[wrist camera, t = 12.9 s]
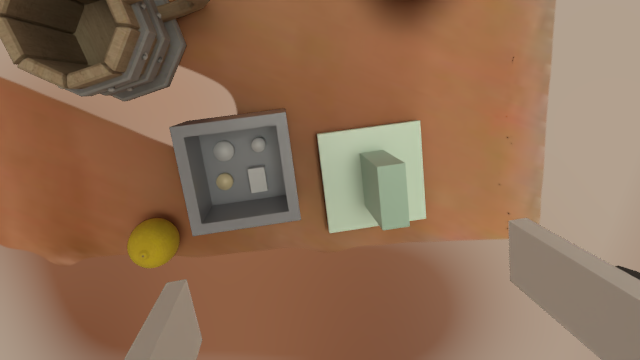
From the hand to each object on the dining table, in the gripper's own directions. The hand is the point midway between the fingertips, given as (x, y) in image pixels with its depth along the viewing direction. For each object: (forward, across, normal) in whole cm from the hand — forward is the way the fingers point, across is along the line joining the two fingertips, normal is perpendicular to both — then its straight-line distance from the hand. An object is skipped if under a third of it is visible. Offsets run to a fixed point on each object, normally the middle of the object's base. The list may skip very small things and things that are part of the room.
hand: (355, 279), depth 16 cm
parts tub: (+35, -8, -1) cm, 36 cm away
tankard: (+36, -15, +16) cm, 42 cm away
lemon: (+36, -20, -8) cm, 41 cm away
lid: (+35, +8, -6) cm, 37 cm away
